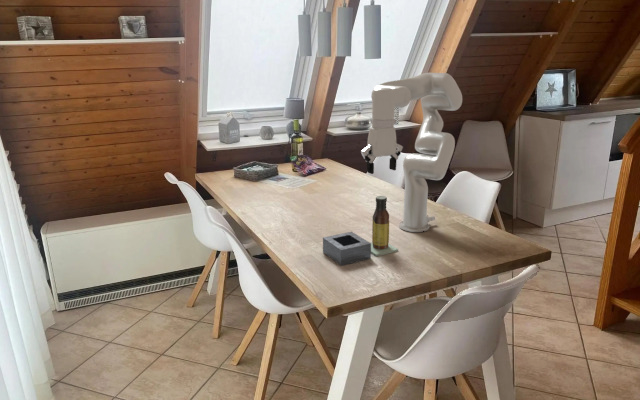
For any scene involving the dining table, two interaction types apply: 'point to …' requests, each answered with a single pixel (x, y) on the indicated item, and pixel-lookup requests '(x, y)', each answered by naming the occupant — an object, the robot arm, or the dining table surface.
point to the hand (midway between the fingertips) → (381, 171)
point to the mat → (382, 250)
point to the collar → (346, 248)
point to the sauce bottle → (380, 224)
